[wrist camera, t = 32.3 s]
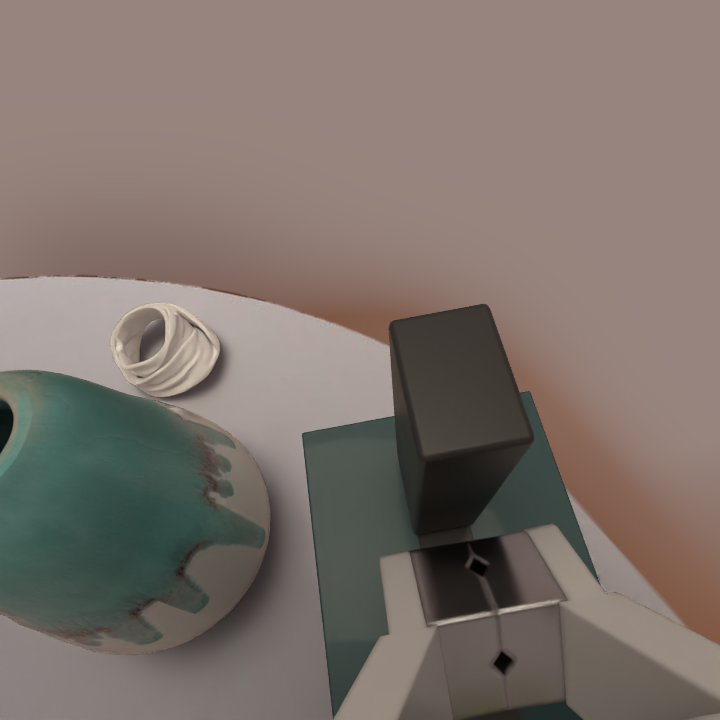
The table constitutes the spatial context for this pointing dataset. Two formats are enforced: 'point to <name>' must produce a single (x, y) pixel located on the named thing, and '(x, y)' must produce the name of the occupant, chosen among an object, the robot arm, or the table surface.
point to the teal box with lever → (406, 534)
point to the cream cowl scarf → (165, 350)
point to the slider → (454, 415)
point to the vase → (121, 516)
